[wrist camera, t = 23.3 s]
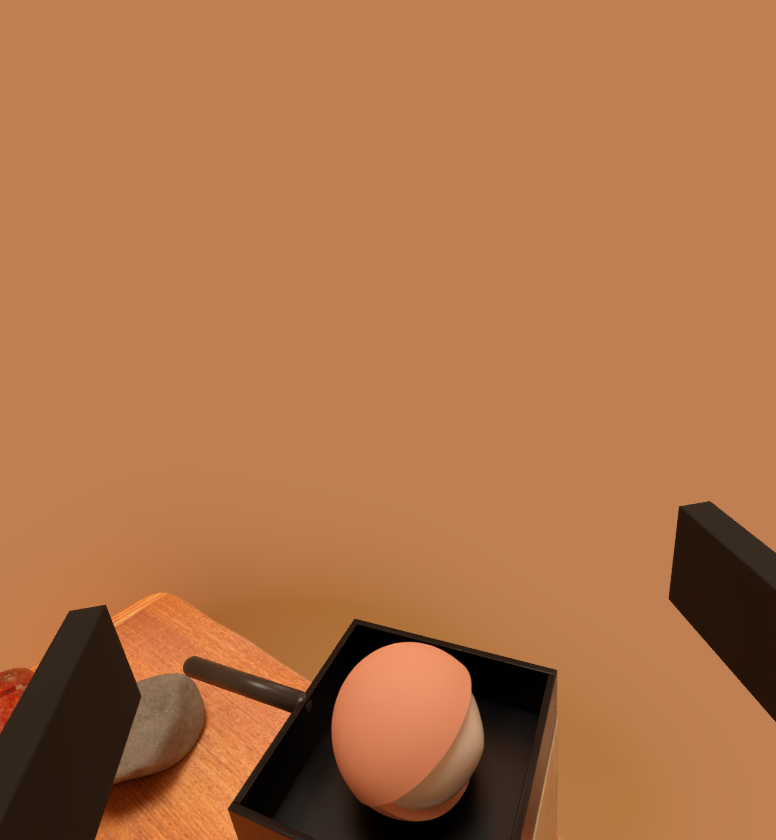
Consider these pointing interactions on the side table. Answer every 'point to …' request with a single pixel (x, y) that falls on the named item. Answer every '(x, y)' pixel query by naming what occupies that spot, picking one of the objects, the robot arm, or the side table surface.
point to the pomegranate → (12, 691)
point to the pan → (327, 790)
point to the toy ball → (407, 731)
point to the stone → (162, 726)
